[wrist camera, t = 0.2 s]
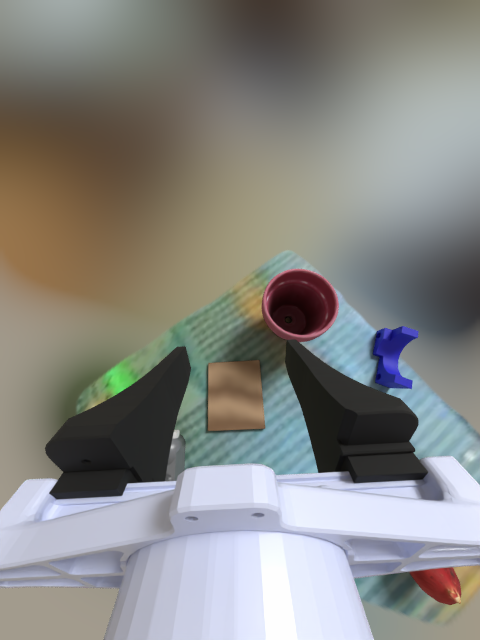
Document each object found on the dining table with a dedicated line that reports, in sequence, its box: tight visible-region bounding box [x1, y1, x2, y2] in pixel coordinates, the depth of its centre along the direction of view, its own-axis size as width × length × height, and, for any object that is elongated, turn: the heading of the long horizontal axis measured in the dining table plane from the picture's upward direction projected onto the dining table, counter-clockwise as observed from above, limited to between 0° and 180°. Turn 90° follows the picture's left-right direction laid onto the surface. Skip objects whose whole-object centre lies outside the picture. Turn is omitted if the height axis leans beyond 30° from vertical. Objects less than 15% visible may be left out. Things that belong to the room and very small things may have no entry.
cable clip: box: [373, 326, 418, 389], centre depth 39 cm, size 12×4×6 cm, turn 157°
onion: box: [410, 567, 461, 605], centre depth 28 cm, size 6×6×8 cm
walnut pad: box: [208, 360, 265, 431], centre depth 41 cm, size 14×12×1 cm
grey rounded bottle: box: [165, 430, 185, 481], centre depth 36 cm, size 10×4×5 cm, turn 3°
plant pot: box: [262, 269, 339, 342], centre depth 40 cm, size 14×14×13 cm
